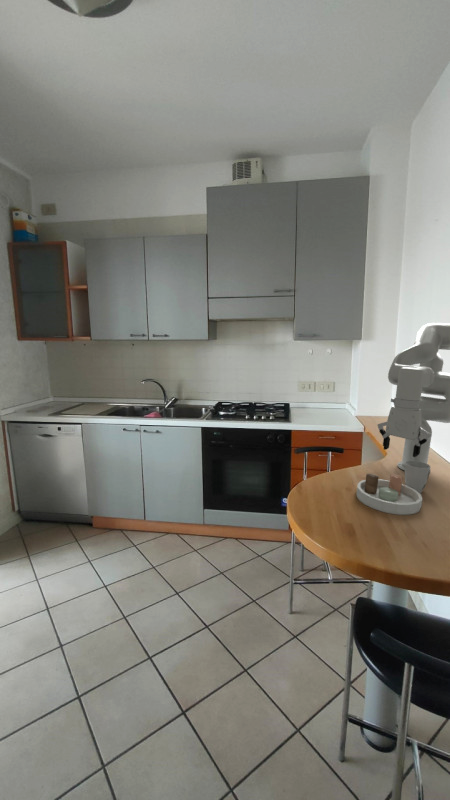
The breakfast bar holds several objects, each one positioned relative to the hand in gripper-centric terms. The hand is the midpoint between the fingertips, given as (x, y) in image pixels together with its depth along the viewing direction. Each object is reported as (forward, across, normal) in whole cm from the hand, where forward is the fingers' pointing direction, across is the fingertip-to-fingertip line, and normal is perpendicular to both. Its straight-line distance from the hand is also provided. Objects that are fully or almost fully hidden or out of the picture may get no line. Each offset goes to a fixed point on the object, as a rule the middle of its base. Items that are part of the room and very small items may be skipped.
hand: (400, 452), depth 124 cm
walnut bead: (+15, -6, -6) cm, 17 cm away
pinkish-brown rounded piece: (+15, 0, 0) cm, 15 cm away
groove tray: (+16, 0, -6) cm, 17 cm away
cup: (+16, +3, +11) cm, 20 cm away
